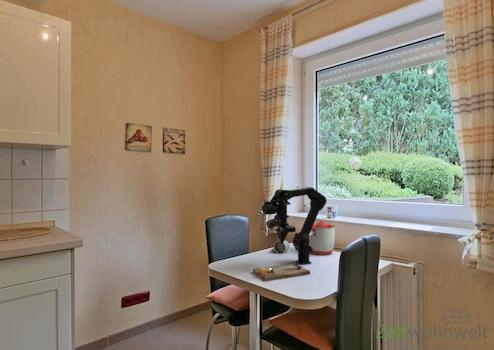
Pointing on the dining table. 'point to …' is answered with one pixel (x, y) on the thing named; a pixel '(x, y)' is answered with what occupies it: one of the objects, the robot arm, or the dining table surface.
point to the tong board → (282, 272)
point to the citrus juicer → (322, 238)
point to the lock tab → (263, 270)
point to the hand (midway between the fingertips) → (281, 243)
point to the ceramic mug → (281, 247)
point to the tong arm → (278, 268)
